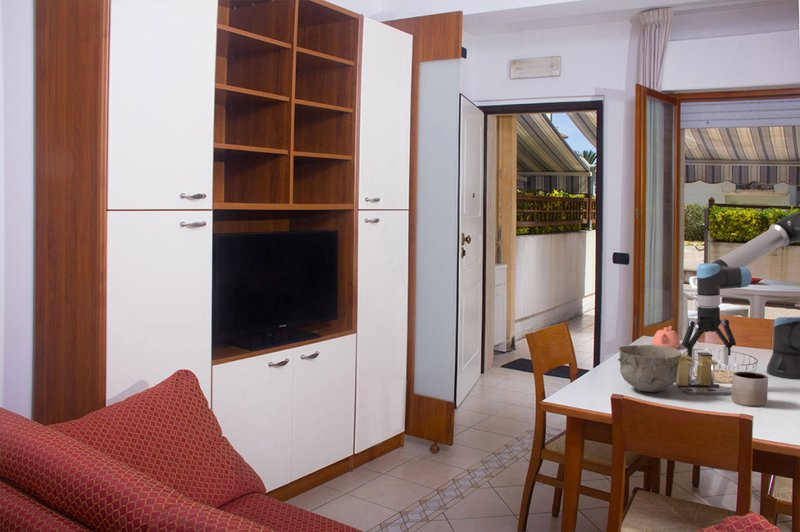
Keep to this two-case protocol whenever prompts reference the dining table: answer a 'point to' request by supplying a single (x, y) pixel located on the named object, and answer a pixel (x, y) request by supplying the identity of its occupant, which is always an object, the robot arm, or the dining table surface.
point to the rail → (699, 386)
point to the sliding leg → (705, 369)
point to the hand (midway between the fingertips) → (708, 365)
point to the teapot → (666, 338)
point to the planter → (749, 389)
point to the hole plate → (707, 391)
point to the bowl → (649, 366)
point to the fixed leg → (684, 371)
